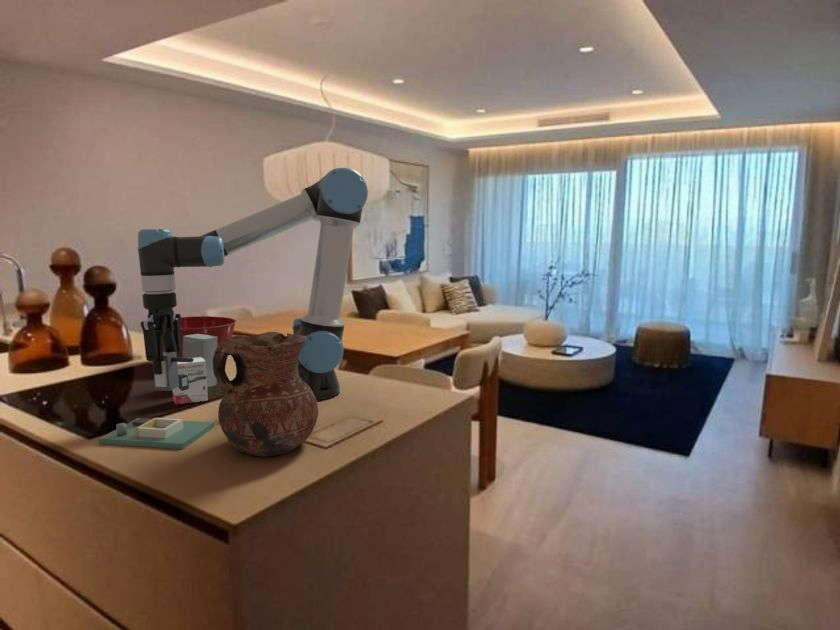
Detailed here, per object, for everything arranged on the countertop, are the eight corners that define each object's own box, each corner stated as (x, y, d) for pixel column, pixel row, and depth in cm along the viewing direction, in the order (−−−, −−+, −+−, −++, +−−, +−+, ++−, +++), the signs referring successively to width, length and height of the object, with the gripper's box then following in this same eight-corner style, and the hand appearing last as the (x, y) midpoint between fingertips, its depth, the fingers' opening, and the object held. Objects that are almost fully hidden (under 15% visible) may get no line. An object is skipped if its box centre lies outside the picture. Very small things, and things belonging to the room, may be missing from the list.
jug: (264, 423, 137) (261, 325, 133) (336, 436, 129) (335, 332, 125) (197, 455, 117) (191, 341, 113) (277, 473, 109) (274, 350, 105)
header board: (214, 427, 134) (213, 413, 133) (182, 449, 120) (181, 433, 120) (138, 422, 136) (137, 408, 136) (99, 443, 123) (97, 428, 122)
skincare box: (181, 386, 168) (179, 336, 166) (199, 381, 175) (196, 332, 172) (203, 390, 165) (200, 338, 163) (220, 384, 172) (218, 334, 169)
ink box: (175, 405, 150) (173, 363, 149) (172, 400, 154) (170, 360, 153) (208, 400, 155) (206, 360, 153) (204, 396, 159) (202, 356, 157)
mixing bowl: (219, 351, 219) (217, 313, 217) (250, 364, 199) (249, 322, 196) (143, 361, 200) (140, 319, 198) (169, 376, 180) (167, 330, 177)
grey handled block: (199, 386, 140) (197, 352, 138) (191, 391, 136) (188, 355, 134) (162, 385, 141) (159, 351, 140) (153, 390, 137) (149, 355, 136)
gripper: (165, 288, 144) (172, 374, 147) (122, 296, 127) (131, 393, 131) (191, 288, 143) (198, 375, 146) (152, 296, 126) (161, 394, 130)
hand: (167, 383), depth 138 cm, fingers closed on grey handled block, 4 cm apart
